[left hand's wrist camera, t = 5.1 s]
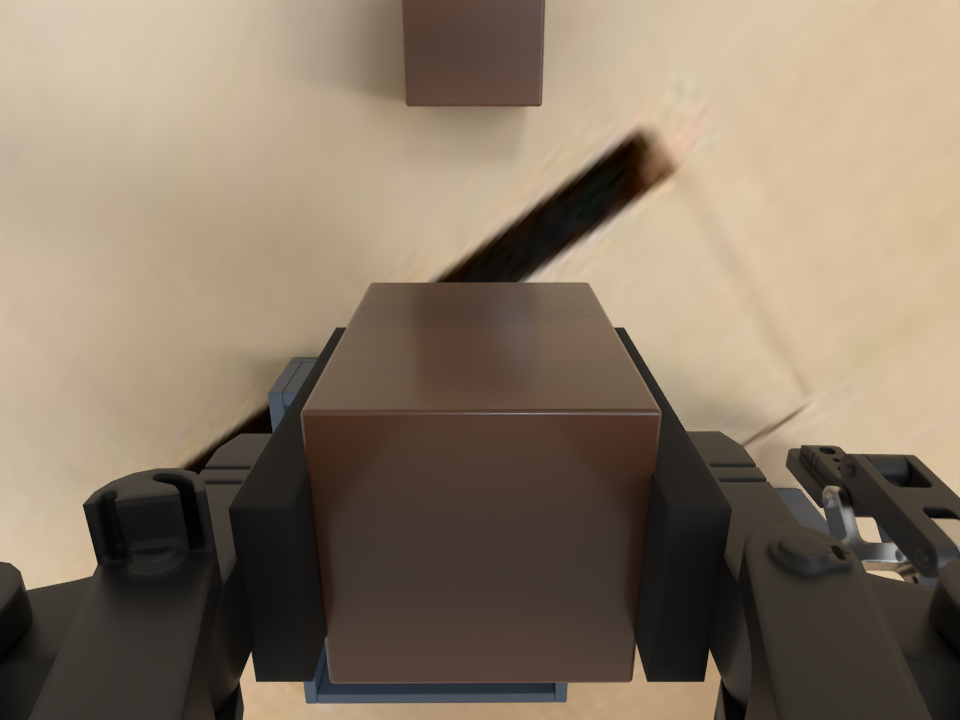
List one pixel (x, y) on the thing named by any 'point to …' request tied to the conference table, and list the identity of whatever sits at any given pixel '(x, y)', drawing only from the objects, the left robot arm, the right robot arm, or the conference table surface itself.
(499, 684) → the tray
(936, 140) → the conference table surface
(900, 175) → the conference table surface
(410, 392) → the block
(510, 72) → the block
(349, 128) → the conference table surface
